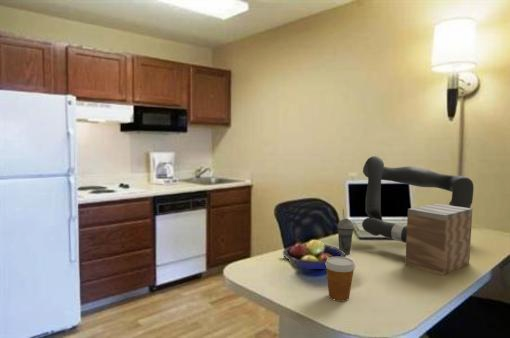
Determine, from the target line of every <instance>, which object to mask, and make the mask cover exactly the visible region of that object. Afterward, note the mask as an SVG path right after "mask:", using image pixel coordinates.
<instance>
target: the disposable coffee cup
mask: <svg viewBox="0 0 510 338" xmlns="http://www.w3.org/2000/svg"><path fill="white" fill-rule="evenodd" d="M326 259H327V260H326V262H325V265H326V268H325V269H326V276H327V277H326V278H327V279H326V280H327V287H328V297H329V296H330V297H329V299H331V298H332V299H331V300H333V299H335V300H334V301H336V300H341V301H340V302H343V301H342V300H346V301H348V300H349V299H350V295H351V294H350V293H351V289H352V281H353V275H354V270H355V269H356V264H355V261H354V260H353V259H351V258H349V257H344V256H331V257H327V258H326ZM347 299H348V300H347Z"/></svg>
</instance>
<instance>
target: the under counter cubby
mask: <svg viewBox="0 0 510 338" xmlns="http://www.w3.org/2000/svg"><path fill="white" fill-rule="evenodd" d="M472 222H473V208H471V207H470V208H465V207H458V206H451V205H449V204H444V203H437V202H436V203H431V204H427V205H421V206H417V207H412V208H407V220H406V225H407V240H406V243H405V265H406V266H408V267H412V268H416V269H418V270H422V271H426V272H428V273H432V274H436V275H440V276H445V275H447V274H449V273H452V272H454V271H456V270H458V269H460V268H462V267H465V266H467V265H469V264H470V258H471V257H470V256H471V255H470V254H471V242H472V241H471V240H472V239H471V238H472Z"/></svg>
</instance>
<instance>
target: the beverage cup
mask: <svg viewBox="0 0 510 338" xmlns="http://www.w3.org/2000/svg"><path fill="white" fill-rule="evenodd" d="M345 216H346V215H345V209H344V208H342V219H341V220H339V222H338V224H337V226H336V228H337V235H338V251H339V250H341V251H343V252H344V253H345V255H344V256H350V255H351V249H352V242H353V241H352V240H353V233H354V230H355V227H354V223H353V222H352V221H351V220H350V219H348V218H346V217H345Z"/></svg>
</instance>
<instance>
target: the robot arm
mask: <svg viewBox="0 0 510 338" xmlns="http://www.w3.org/2000/svg"><path fill="white" fill-rule="evenodd" d="M362 173H363V175H364V176H365V177H367V188H366V193H365V213H366V215H367V216H368V217H366V218H365V219H364V220H363V221H362V222H361V226H362V228H363V230H364V231H365V232H367V233H368V234H370V235H372V236H375V237H376V236H382V237H385V238H388V239H390V240H391V239H392V240H395V241H398V242H400V243H405V244H406V240H407V224H400V223H394V222H389V221H383V216H382V212H381V210H382V209H381V204H382V202H381V194H382V193H381V192H382V191H381V190H382V189H381V188H382V181H389V182H395V183H400V184H405V185H410V186H414V187H418V188H436V189H441V190H445V191H448V192H451V200H450V201H449V203H448V205H451V206H458V207H465V208H471V207H472V204H473V199H474V188H475V187H474V182H473V181H472V179H470V178H469V177H467V176H463V175H457V174H456V175H455V174H454V175H453V174H444V173H439V172H435V171H432V170H430V169H425V168H421V167H416V166H400V167H388V166H385V163H384V161H383V159H382V158H381V157H379V156H376V155H375V156H370V157H369V158H367V160H366V161H365V163H364V165H363V168H362Z"/></svg>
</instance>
